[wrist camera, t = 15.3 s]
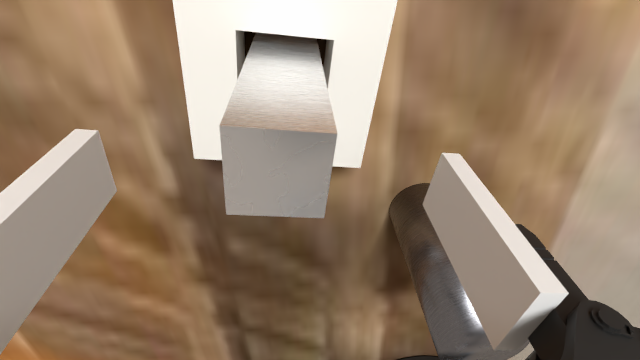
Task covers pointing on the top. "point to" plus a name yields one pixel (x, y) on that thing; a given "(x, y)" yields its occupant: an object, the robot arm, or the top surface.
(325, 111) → the square peg
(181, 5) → the socket block
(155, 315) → the top surface
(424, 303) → the round peg
